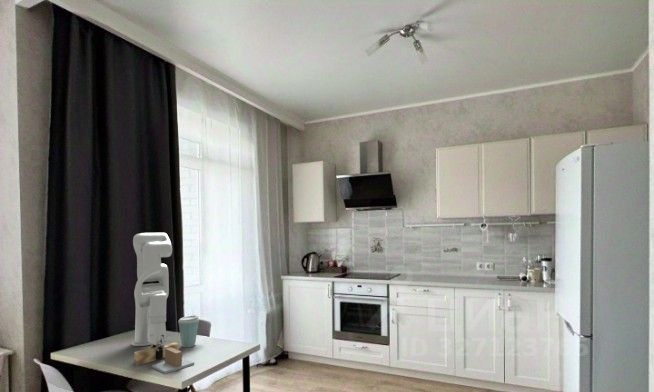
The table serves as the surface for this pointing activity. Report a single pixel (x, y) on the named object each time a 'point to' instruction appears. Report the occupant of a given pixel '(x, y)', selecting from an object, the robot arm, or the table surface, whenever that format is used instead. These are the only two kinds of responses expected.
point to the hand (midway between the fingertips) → (156, 357)
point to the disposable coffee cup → (188, 330)
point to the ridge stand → (172, 361)
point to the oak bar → (151, 354)
